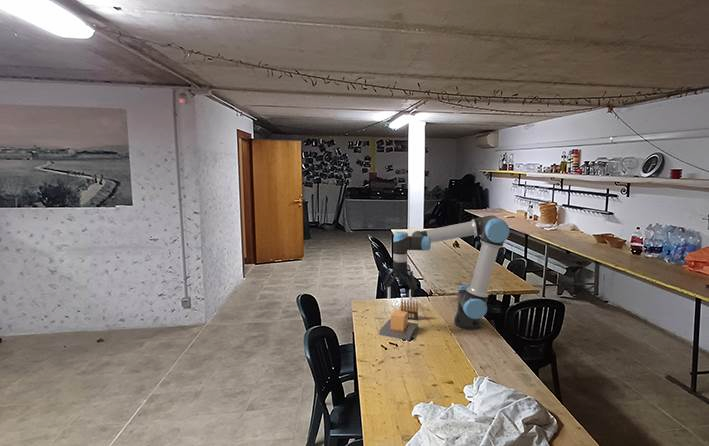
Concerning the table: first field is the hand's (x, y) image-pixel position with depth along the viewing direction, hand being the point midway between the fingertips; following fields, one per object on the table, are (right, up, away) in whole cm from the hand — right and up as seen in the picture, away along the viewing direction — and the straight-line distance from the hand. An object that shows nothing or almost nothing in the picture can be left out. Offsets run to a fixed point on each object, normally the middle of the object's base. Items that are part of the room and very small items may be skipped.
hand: (399, 299), depth 214 cm
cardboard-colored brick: (0, -17, +3) cm, 18 cm away
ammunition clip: (+8, -15, +20) cm, 26 cm away
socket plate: (0, -18, +3) cm, 18 cm away
